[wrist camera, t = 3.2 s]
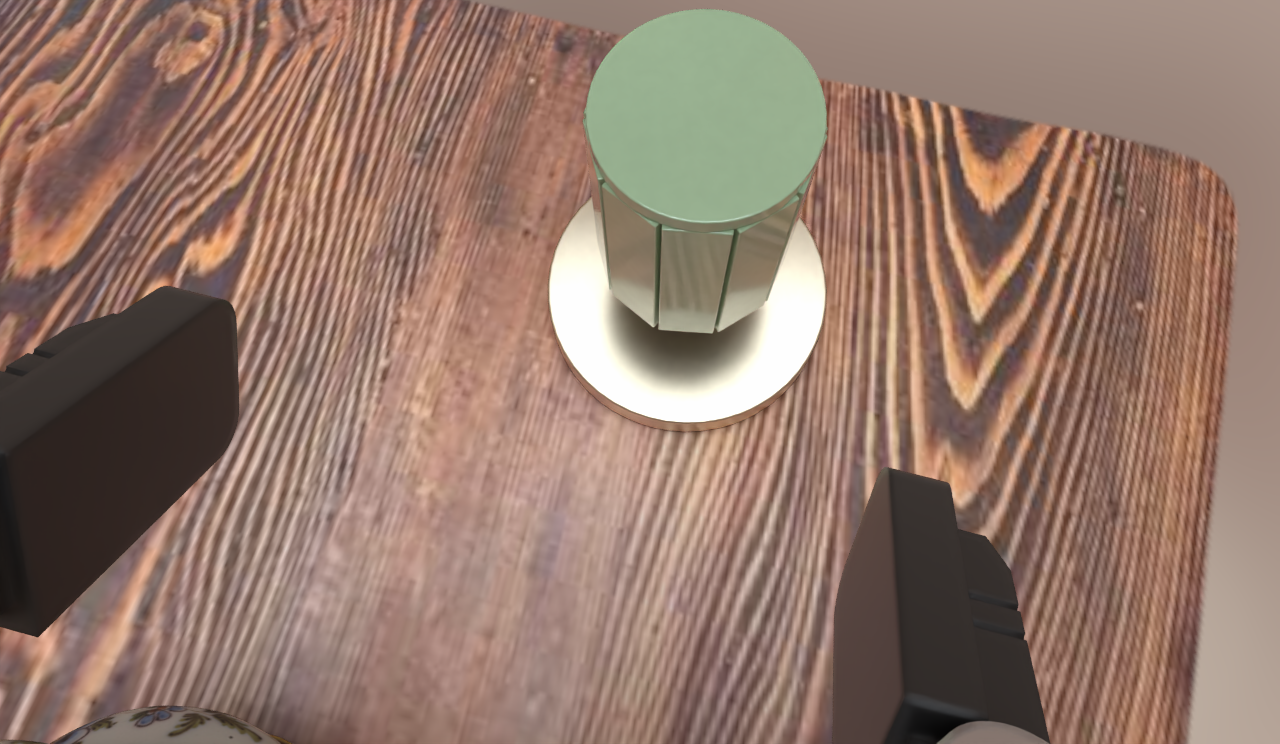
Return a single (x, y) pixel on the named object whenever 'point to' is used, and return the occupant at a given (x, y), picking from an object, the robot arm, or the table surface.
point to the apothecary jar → (165, 729)
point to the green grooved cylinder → (700, 164)
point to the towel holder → (682, 340)
